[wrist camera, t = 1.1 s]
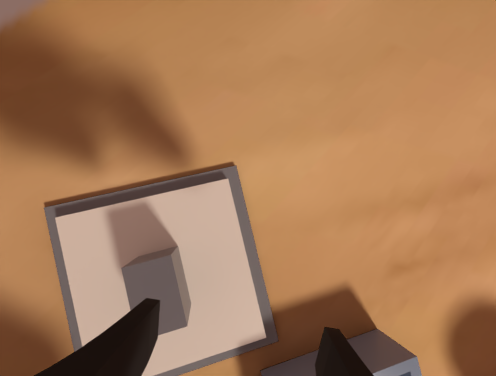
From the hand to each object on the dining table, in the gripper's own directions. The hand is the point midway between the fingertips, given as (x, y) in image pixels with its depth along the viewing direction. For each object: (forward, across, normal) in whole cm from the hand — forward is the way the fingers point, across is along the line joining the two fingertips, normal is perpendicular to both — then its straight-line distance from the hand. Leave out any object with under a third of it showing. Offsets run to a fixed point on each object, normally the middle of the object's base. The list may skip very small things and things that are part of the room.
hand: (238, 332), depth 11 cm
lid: (+9, +6, +4) cm, 11 cm away
